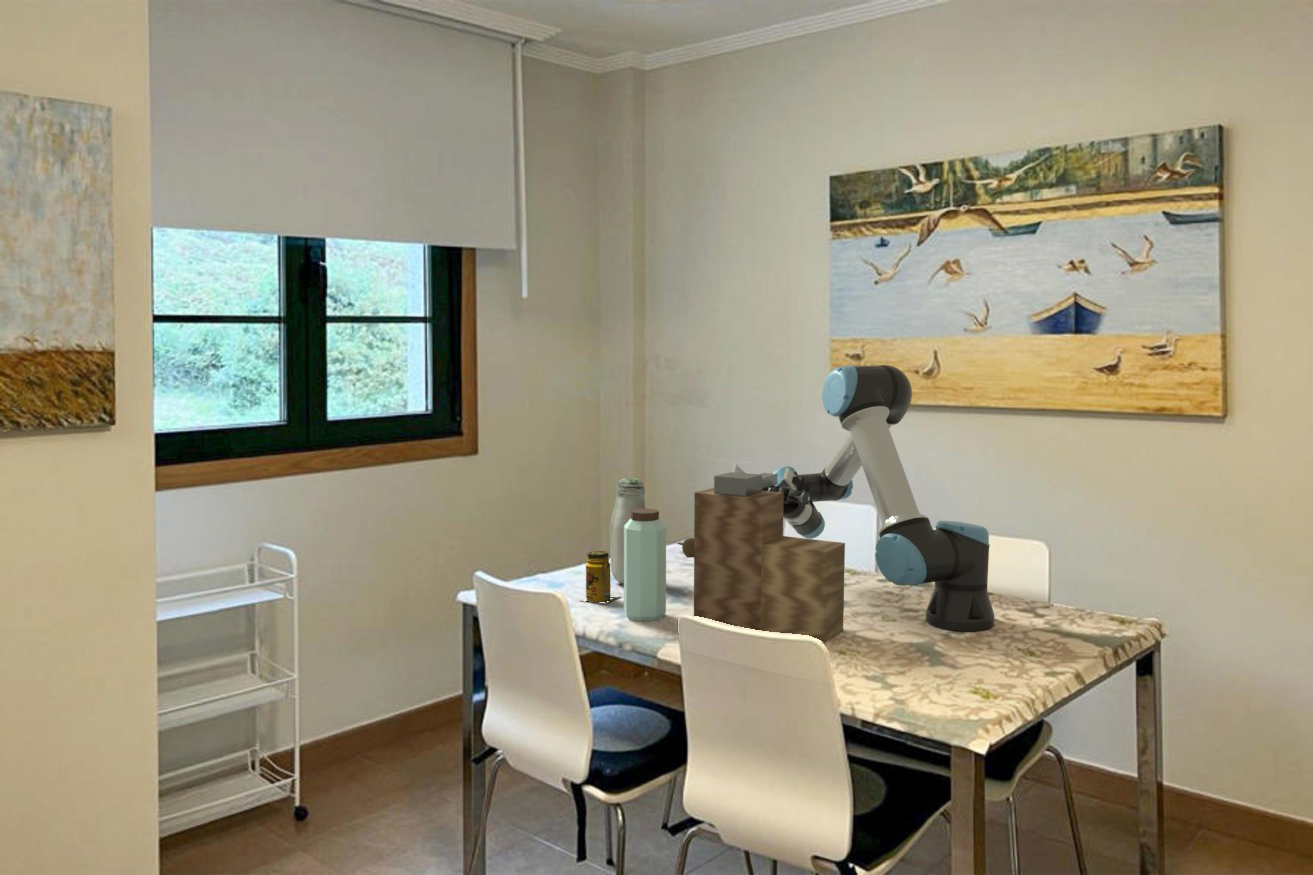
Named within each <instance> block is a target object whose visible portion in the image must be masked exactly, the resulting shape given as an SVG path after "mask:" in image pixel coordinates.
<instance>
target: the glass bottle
mask: <svg viewBox="0 0 1313 875" xmlns="http://www.w3.org/2000/svg"><path fill="white" fill-rule="evenodd" d="M615 492H616V499H615V502H614V508H613V511H612V514H611V520H610V522H609V523H610V524H609V526H610V530H609V532H610V539H609V540H610V542H609V543H610V573H611V575H612V576H613V578H614V580H615V581H617V582H618V583H621V584H624V525H625V524H626V523H627V522H628V521H629V520H630V518H631V510H635V509H647V508H646V505H645V486H644V483H643V481H642V480H641V479H639V478H638V477H624V478H622V479H620V480H619V481H618V482H617V484H616V491H615Z"/></svg>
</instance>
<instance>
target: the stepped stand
mask: <svg viewBox="0 0 1313 875" xmlns="http://www.w3.org/2000/svg"><path fill="white" fill-rule="evenodd" d="M783 502H784V493H782V492H771V491H769V490H768V491H762V492H761V493H757V494H754V495H750V496H747V497H743V496H732V495H722V494H714V487H712V488H707V489H702V490H699V491H696V492H694V502H693V503H694V510H693V511H694V513H693V514H694V516H693V517H694V519H693V520H694V521H693V522H694V523H693V524H694V525H693V526H694V528H693V531H694V533H693V536H694V537H693V538H694V558H693V617H694V616H699V617H704V618H708V619H712V620H715V621H719V622H723V623H726V624H730V625H734V626H740V627H744V628H750V629H755V630H762V631H769V632H780V633H792V634H801V635H809V636H812V637H814V638H817V639H819V640H821V641H822V642H824V644H826V643H827V642H829V641H831V640H832V639H833V638H835V637H837V636H838V635H840V634H842V633H843V632H844V612H845V610H844V608H845V607H844V606H845V604H844V602H845V567H846V566H845V558H846V556H845V554H846V553H845V551H846V543H845V542H839V541H830V540H829V541H828V540H823V539H822V540H821V539H815V538H812V539H808V538H804V537H797V536H795V537H793V536H786V535H784V518H783Z"/></svg>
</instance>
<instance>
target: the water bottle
mask: <svg viewBox="0 0 1313 875" xmlns="http://www.w3.org/2000/svg"><path fill="white" fill-rule="evenodd" d="M659 518H660V511H659V510H658V509H655V508H646V509H635V510H631V518H630V520H629V521H628V522H627V523H626V524H625V525H624V583H623V611H624V612H625V615H626V616H627V618H628V619H629V620H631V619H632V620H631V621H636V620H637V621H636V622H655V621H657V620H660V619H662V618H664V616H665V615H666V613H667V527H666V526H665V525H664V523H663V522H662V521H661V520H660V519H659ZM654 620H655V621H654Z"/></svg>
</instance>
